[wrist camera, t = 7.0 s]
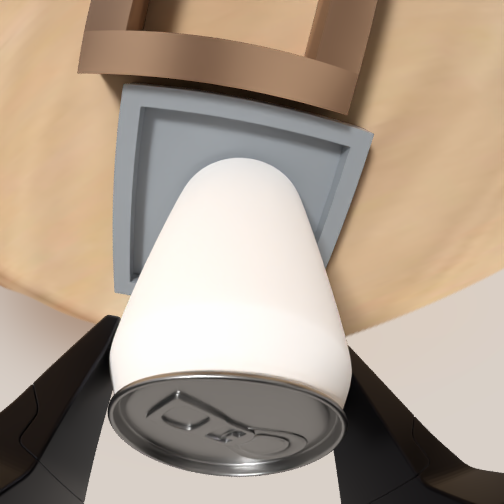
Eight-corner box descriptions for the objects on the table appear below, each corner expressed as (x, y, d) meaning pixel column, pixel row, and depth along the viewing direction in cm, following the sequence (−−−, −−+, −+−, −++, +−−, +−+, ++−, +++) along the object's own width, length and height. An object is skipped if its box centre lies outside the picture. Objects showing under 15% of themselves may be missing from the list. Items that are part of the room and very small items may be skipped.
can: (246, 285, 19) (243, 490, 9) (155, 221, 17) (62, 424, 7) (327, 210, 16) (414, 421, 6) (232, 128, 14) (180, 294, 4)
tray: (362, 127, 15) (374, 133, 14) (300, 303, 21) (304, 318, 20) (132, 82, 13) (123, 83, 12) (120, 277, 20) (114, 292, 18)
